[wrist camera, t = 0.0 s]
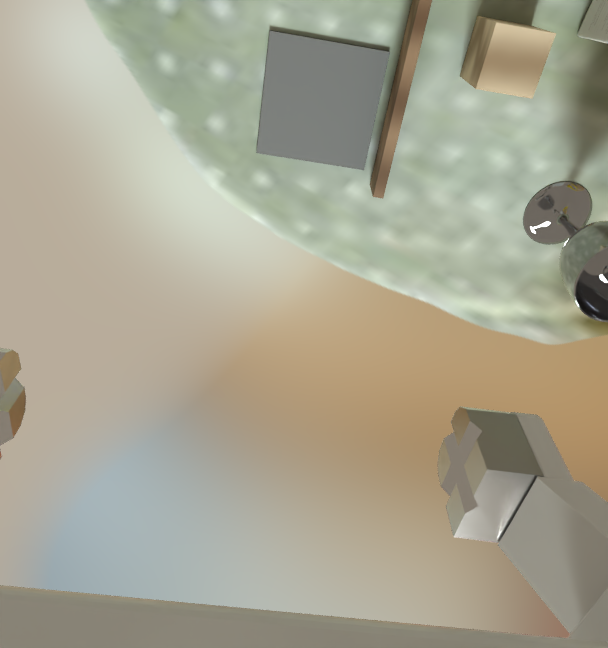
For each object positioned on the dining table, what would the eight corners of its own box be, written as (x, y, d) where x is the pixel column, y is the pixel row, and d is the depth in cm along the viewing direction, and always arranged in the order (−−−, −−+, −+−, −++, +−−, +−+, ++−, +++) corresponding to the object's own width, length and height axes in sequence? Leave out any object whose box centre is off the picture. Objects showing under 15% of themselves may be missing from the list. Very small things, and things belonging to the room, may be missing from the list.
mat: (270, 30, 49) (269, 30, 49) (389, 51, 50) (389, 52, 50) (256, 151, 55) (256, 152, 55) (363, 169, 56) (363, 169, 56)
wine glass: (504, 217, 59) (555, 287, 47) (566, 162, 56) (640, 220, 43) (548, 261, 62) (609, 337, 49) (611, 210, 59) (692, 278, 46)
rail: (416, -17, 47) (423, -15, 44) (427, -15, 47) (435, -13, 45) (369, 184, 57) (373, 196, 54) (379, 186, 57) (383, 198, 54)
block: (477, 15, 49) (496, 22, 44) (531, 25, 49) (556, 33, 44) (459, 76, 52) (475, 88, 47) (510, 85, 52) (532, 98, 47)
